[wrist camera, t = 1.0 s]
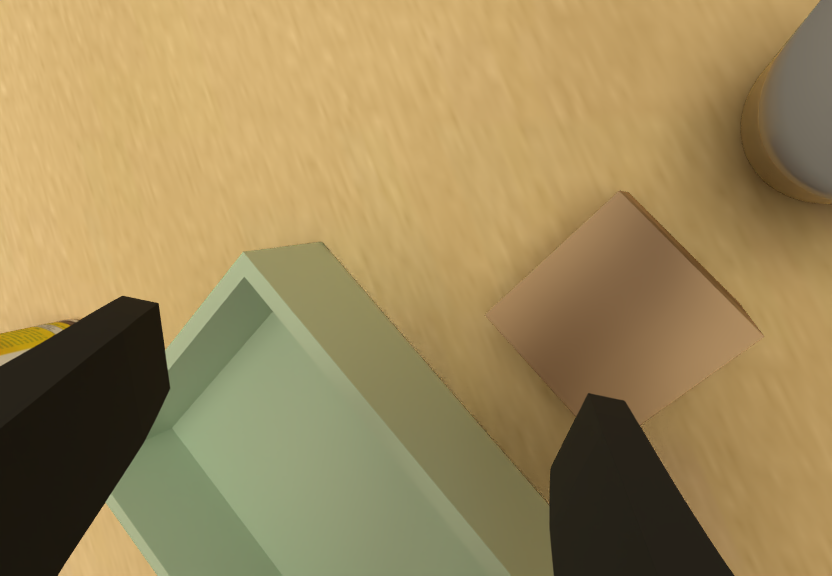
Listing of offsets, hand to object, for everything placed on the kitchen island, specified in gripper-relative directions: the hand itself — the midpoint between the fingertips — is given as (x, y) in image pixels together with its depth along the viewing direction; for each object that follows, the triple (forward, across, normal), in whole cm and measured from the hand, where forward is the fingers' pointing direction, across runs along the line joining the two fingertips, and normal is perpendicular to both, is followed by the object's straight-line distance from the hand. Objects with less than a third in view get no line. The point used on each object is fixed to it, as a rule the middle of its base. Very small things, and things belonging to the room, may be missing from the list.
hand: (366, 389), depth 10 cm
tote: (+8, 0, +15) cm, 17 cm away
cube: (+10, -8, +4) cm, 13 cm away
